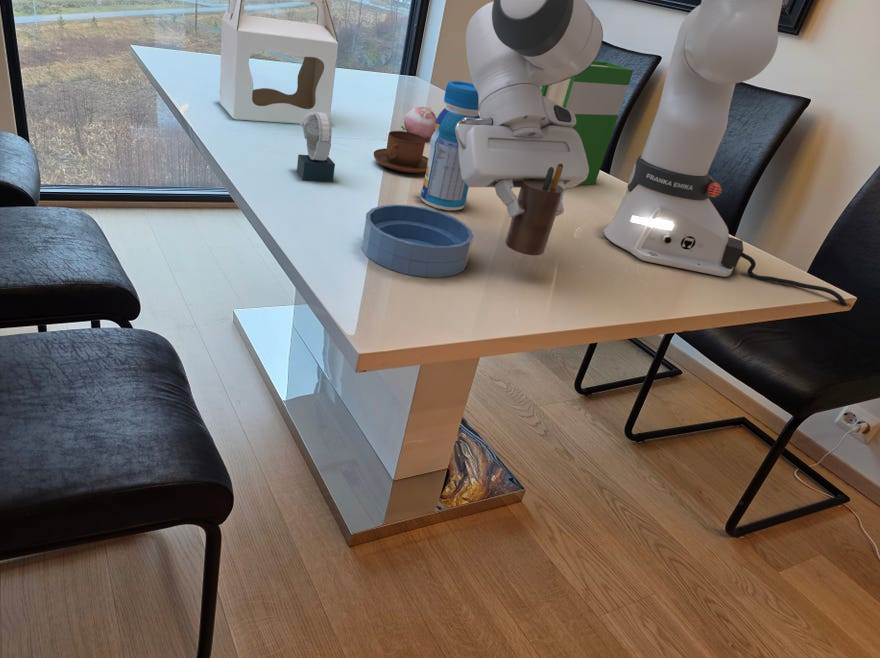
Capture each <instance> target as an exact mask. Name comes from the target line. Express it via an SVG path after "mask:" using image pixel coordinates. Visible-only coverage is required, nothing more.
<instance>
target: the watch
mask: <svg viewBox="0 0 880 658" xmlns="http://www.w3.org/2000/svg"><path fill="white" fill-rule="evenodd" d="M299 126H300V127H302V130H303V136H304V139H305V141H306V150H307V154H298V155H297V164H296V173H297V174H298V176H299V177H300V178H301V180H302V181H313V182H314V181H315V182H334V175H335V169H336V163H335V162H334V161H333V160H332V159H331V158H330V157H329V156H330V151H331V148H332V143H331V142H332V134H333V133H332V131H333V130H332V120H331V115H330V116H329V114H327V113H322V112H311V113H309V114H307V115H306V116H305V117H304V118H303V120H302V121H301V122H300V124H299Z"/></svg>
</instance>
